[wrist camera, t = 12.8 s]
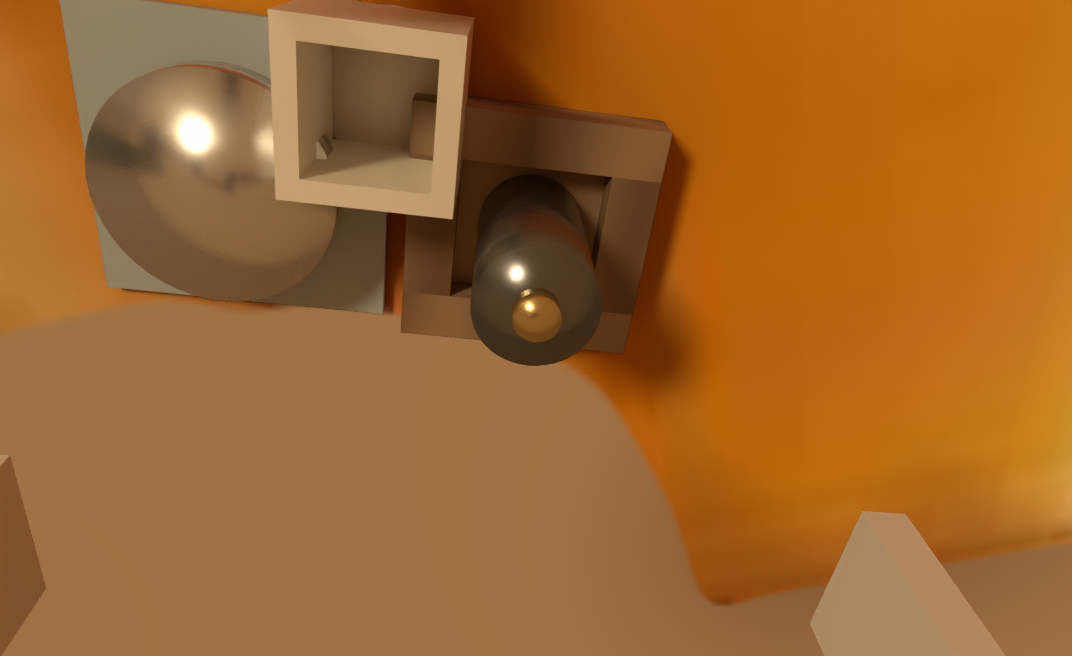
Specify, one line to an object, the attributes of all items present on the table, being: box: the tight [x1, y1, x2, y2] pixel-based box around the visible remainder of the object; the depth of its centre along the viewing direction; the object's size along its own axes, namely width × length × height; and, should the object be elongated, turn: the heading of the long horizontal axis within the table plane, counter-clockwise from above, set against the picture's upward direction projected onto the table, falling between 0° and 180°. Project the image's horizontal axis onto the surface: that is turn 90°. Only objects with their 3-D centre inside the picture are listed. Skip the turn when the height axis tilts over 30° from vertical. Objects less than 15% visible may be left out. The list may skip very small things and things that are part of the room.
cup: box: [268, 0, 474, 219], centre depth 26 cm, size 6×6×6 cm
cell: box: [470, 174, 602, 366], centre depth 27 cm, size 4×4×9 cm
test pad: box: [85, 60, 343, 302], centre depth 28 cm, size 9×9×2 cm
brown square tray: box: [401, 93, 673, 354], centre depth 31 cm, size 10×10×2 cm
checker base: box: [60, 0, 388, 314], centre depth 30 cm, size 12×12×1 cm
